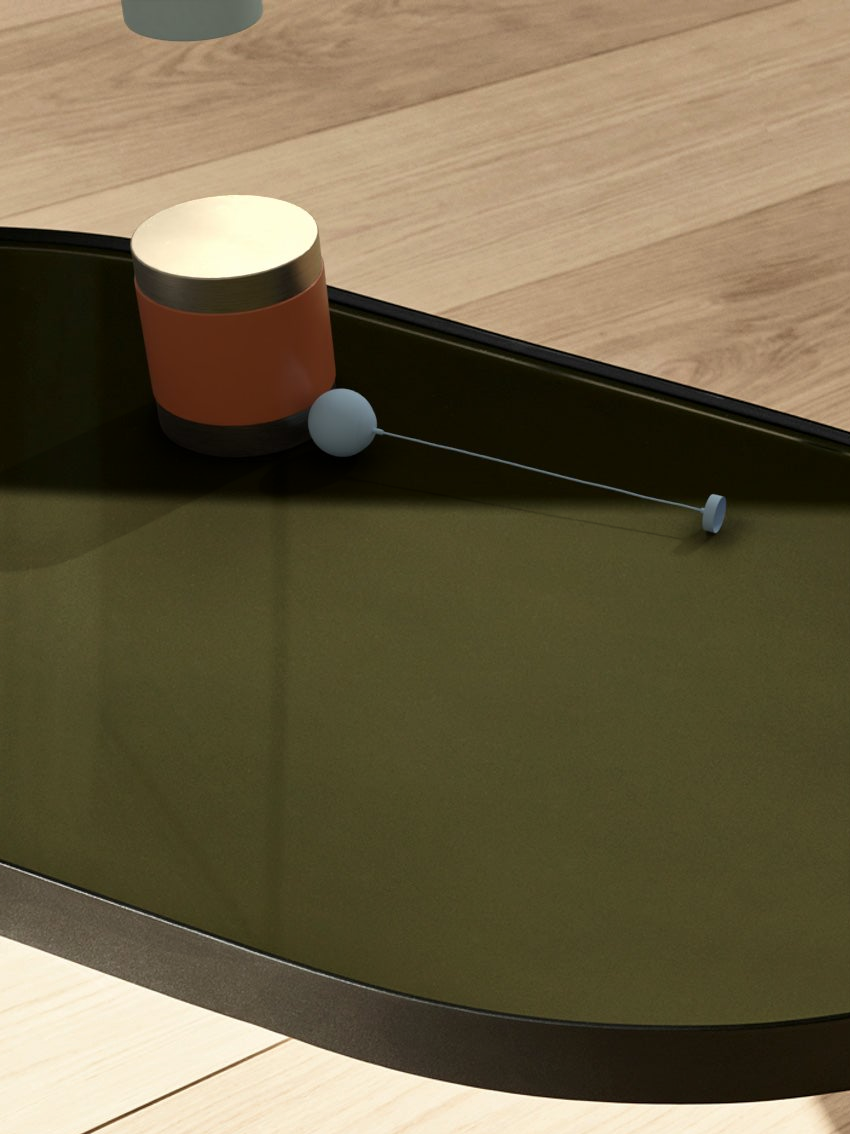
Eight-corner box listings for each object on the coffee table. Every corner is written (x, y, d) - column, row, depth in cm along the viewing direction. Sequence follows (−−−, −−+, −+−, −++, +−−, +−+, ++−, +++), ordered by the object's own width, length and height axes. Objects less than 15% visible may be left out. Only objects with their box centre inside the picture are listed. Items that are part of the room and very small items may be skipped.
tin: (128, 400, 110) (97, 224, 105) (289, 350, 114) (267, 178, 108) (205, 478, 105) (177, 297, 99) (371, 423, 108) (353, 245, 103)
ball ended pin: (702, 554, 100) (715, 485, 99) (292, 452, 105) (300, 385, 104) (723, 543, 103) (736, 475, 101) (323, 444, 108) (331, 379, 107)
